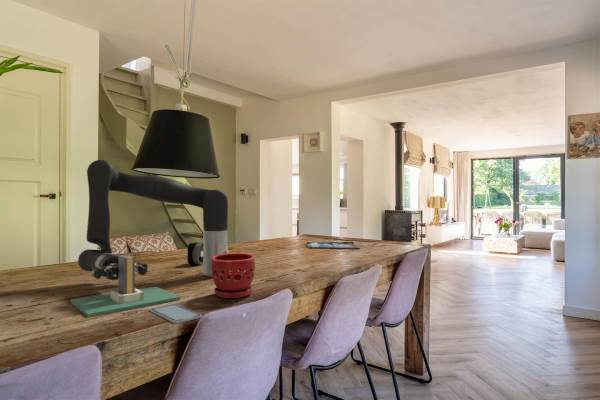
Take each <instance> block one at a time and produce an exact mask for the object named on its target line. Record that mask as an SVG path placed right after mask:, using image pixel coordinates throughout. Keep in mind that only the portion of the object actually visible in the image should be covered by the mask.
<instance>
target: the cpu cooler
mask: <svg viewBox="0 0 600 400" xmlns="http://www.w3.org/2000/svg"><path fill="white" fill-rule="evenodd" d="M186 260H187V264H188V265H189V266H190V265H195V266H202V265H203V241H195V242H191V243H188V246H187V259H186Z"/></svg>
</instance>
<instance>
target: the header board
mask: <svg viewBox="0 0 600 400" xmlns="http://www.w3.org/2000/svg"><path fill="white" fill-rule="evenodd" d="M175 301H181V296H179V295H176V294H175V293H172V292H169V291H167V290H164V289H163V288H160V287H158V286H150V287H144V288H138V289H137V288H136V287H135V293H131V294H120V293H118V289H114V290H113V289H112V290H109V293H105V294H104V293H103V294H98V295H91V296H86V297H79V298H74V299H71V300H70V303H71V304H72V305H73V306H74V308H75V307H76V308H77V309H78V310H79V312H81V313H82V314H83V315H85V316H86V317H87V318H91V317H96V316H102V315H107V314H113V313H117V312H123V311H128V310H133V309H139V308H143V307H149V306H154V305H159V304H164V303H169V302H175Z"/></svg>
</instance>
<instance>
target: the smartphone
mask: <svg viewBox="0 0 600 400" xmlns="http://www.w3.org/2000/svg"><path fill="white" fill-rule="evenodd" d="M149 311H150V312H151V313H153V314H154V315H157V316H159V317H161V318H164V319H165V320H166V321H169V322H171V323H173V324H181V323H185V322H188V321H192V320H197V319H200V318H202V316H203V315H202V314H201V313H198V312H196V311H193V310H192V309H188V308H186V307H184V306H182V305H179V304H176V303H175V304H168V305H163V306H158V307H151V308H150V309H149Z"/></svg>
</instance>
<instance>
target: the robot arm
mask: <svg viewBox="0 0 600 400" xmlns="http://www.w3.org/2000/svg"><path fill="white" fill-rule="evenodd" d="M86 176H87V183H88V216H87V217H88V219H87V226H86V229H87V230H86V241H87V242H88V243H89V244H94V245H96V246H98V247H99V248H100V249H84V250H82V251H81V252H80V254H78V255H79V256H78V259H77V263H78V266H79V267H80V269H81V270H83V271H86V272H92V273H91V274H92V277H94V278H95V279H97V280H99V279H101V277H102V278H103V279H106V280H110V281H118V258H119V256H120V255H119V254H115V253H113V250H112V246H111V242H110V241H111V239H110V230H111V229H110V226H111V214H110V206H109V205H110V203H109V196H110V195H109V193H110V191H111V192H113V191H114V192H119V193H127V194H132V195H134V196H139V197H142V198H146V199H150V200H152V201H153V200H154V201H159V202H163V203H169V204H175V205H177V204H178V205H189V206H194V207H197V208H201V209H202V224H203V233H202V234H203V237H202V238H203V240H202V242H203V267H202V272H203V276H205V277H213V275H212V268H211V259H212V257H214V256H216V255H221V254H229V249H228V247H229V246H228V243H229V242H228V239H229V238H228V237H229V236H228V229H229V228H228V225H229V223H228V222H229V220H228V219H229V218H228V217H229V216H228V215H229V214H228V213H229V210H228V209H229V206H228V205H229V200H228V197H227V195H226V193H225V192H224V191H223V190H220V189H217V188H216V189H215V188H213V189H208V188H200V187H195V186H192V185H189V184H187V183H184V182H183V181H179V180H175V179H171V178H168V177H164V176H160V175H153V174H149V175H148V174H145V175H137V174H135V175H134V174H129V173H125V172H123V171H119V170H116V169H115V167H114V166H113V165H112V163H110V162H109V161H107V160H105V159H97V160H94V161H92V162H90V164H89V165H88V166H87V169H86ZM148 267H149V266H148V263H146V262H145V263H144V262H141V261H137V262H135V275H136V274H137V275H138V274H139V275H141V276H145V275H146V274H147V273H148Z"/></svg>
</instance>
